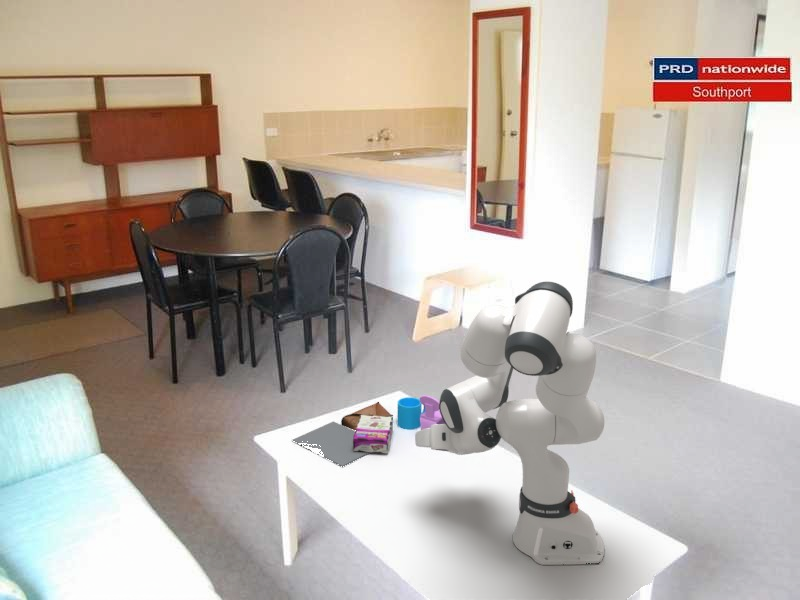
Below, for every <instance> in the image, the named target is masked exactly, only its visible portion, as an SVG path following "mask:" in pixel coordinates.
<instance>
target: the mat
mask: <svg viewBox="0 0 800 600" xmlns="http://www.w3.org/2000/svg"><path fill="white" fill-rule="evenodd" d="M354 434H355V430H352V429H350V428H348V427H345V426H343V425H342V424H341V423H337V422H335V421H331V422H329V423H327V424H324V425H322V426H320V427H317V428H315V429H313V430H311V431H309V432H307V433H305V434H302V435H300V436H298V437H295V438H293V439H292V440H293V441H295V442H297V443H307V444H311V445H312V444H317V446H316V445H314V446H313V445H312V446H311V445H309V447H312V448H318V449H321V451H322V452H323V454H324V457H325V458H327V459H329V460H331V461H333V462H335V463H337V464H339V465H340V466H339V465H338V466H339V467H341V466H342V467H341V468H344V467H346V466H348V465H350V464H352V463H354V462H356V461H358V460H359V458H360V459H362V458H364V457H365V455H366V456H368V455H370V454H372V452H358V451H353V437H354ZM302 441H303V442H302ZM307 441H308V442H307ZM307 444H306V445H304V444H303V445H304V446H308V445H307ZM301 445H302V444H301ZM319 445H320V446H321V447H320V446H319ZM321 451H320V452H321ZM320 452H319V453H320ZM320 454H321V453H320ZM323 454H322V455H323ZM367 454H368V455H367ZM363 456H364V457H363ZM361 457H362V458H361ZM325 458H324V459H325ZM327 459H326V460H327ZM357 459H358V460H357ZM329 460H328V461H329ZM355 460H356V461H355ZM331 461H330V462H331ZM353 461H354V462H353ZM333 462H332V463H333ZM351 462H352V463H351ZM335 463H334V464H335ZM349 463H350V464H349ZM337 464H336V465H337ZM347 464H348V465H347ZM345 465H346V466H345ZM343 466H344V467H343Z"/></svg>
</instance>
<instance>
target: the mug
mask: <svg viewBox="0 0 800 600" xmlns="http://www.w3.org/2000/svg"><path fill="white" fill-rule="evenodd" d="M422 406H423V409H422ZM423 413H425V406H424V405H423V404H421V402H420V398H417V397H411V396H410V397H409V396H407V397H402V398H400V399H398V401H397V426H398V428H400V429H403V430H407V431H408V430H409V431H411V430H416V429H418V428H421V423H420V417H421V414H423Z"/></svg>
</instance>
